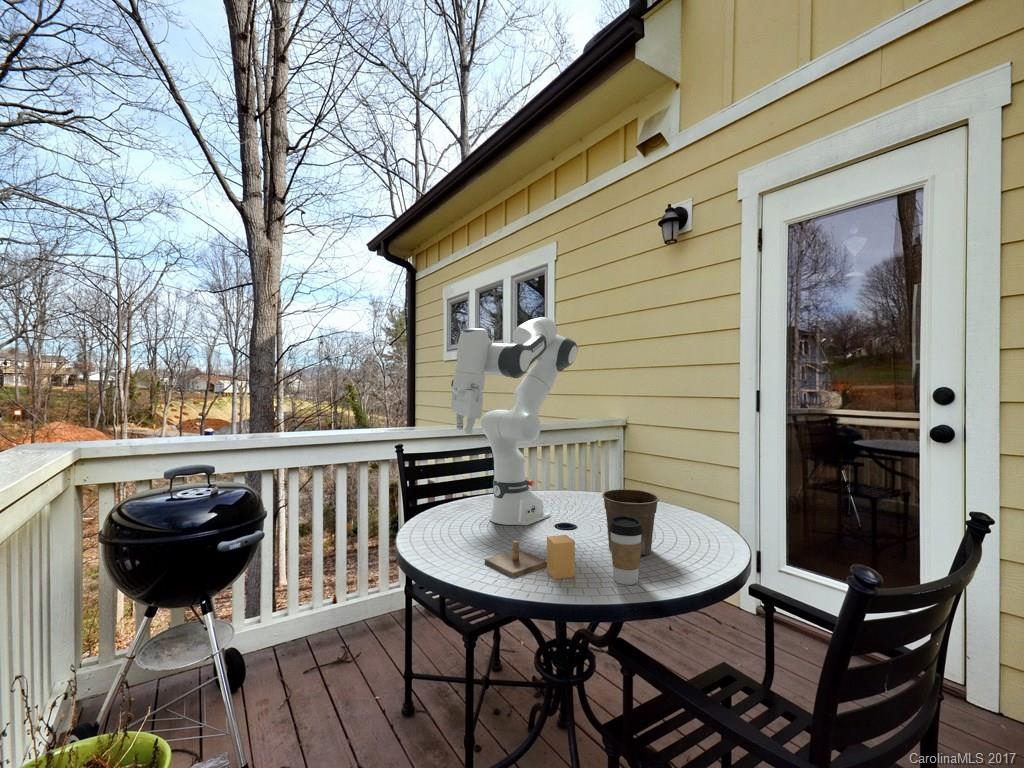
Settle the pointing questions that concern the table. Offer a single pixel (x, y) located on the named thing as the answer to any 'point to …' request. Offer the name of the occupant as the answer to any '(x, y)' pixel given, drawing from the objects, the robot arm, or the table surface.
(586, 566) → the table surface
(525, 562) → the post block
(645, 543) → the plant pot
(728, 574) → the table surface
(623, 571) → the coffee cup
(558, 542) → the tall orange pillar
